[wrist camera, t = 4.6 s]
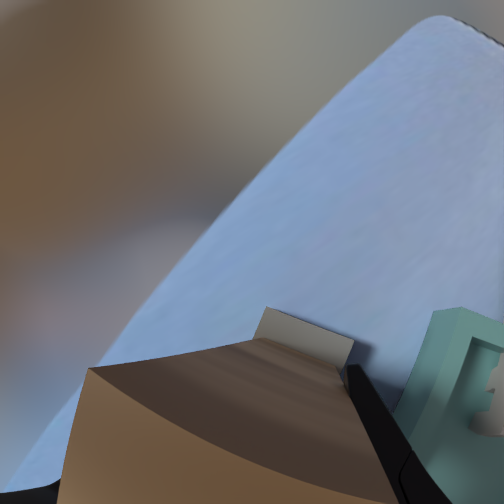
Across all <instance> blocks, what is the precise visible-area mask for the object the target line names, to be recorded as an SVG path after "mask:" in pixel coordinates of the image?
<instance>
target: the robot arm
mask: <svg viewBox="0 0 504 504" xmlns="http://www.w3.org/2000/svg"><path fill="white" fill-rule="evenodd" d="M343 385H344V387H345V389H346V391H347V393H348V395H349V397H350V398H351V401H352V403H353V405H354V407H355V409H356V411H357V413H358V415H359V417H360V420H361V422H362V424H363V426H364V428H365V430H366V432H367V435H368V437H369V439H370V441H371V443H372V445H373V447H374V450H375V452H376V454H377V456H378V458H379V460H380V463H381V465H382V467H383V469H384V471H385V474H386V476H387V478H388V480H389V483H390V485H391V487H392V489H393V491H394V494H395V496H396V498H397V500H398V503H399V504H453V503H452V502H451V501H450V500H449V499H448V497H447V496H446V495H445V494H444V492H443V491H442V490H441V489H440V488H439V486H438V485H437V484H436V483H435V481H434V480H433V479H432V477H431V476H430V475H429V473H428V472H427V470H426V469H425V467H424V466H423V464H422V463H421V461H420V460H419V458H418V456H417V455H416V453H415V451H414V450H412V447H411V445H410V443H409V442H408V440H407V439H406V437H405V435H404V434H403V432H402V430H401V429H400V427H399V425H398V424H397V422H396V421H395V419H394V417H393V416H392V414H391V413H390V411H389V409H388V408H387V406H386V405H385V403H384V401H383V400H382V398H381V397H380V395H379V393H378V392H377V390H376V389H375V387H374V386H373V384H372V382H371V381H370V379H369V378H368V376H367V375H366V373H365V371H364V370H363V368H362V367H361V365H360V364H359V363H351V364H346V365H345V372H344V383H343ZM411 450H412V451H411ZM60 481H61V478H60V479H59V480H58V481H56V482H54V483H52V484H50V485H47V486H44V487H39V488H33V489H27V490H21V491H14V492H7V493H0V504H57V499H58V493H59V487H60Z"/></svg>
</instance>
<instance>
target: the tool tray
mask: <svg viewBox="0 0 504 504" xmlns="http://www.w3.org/2000/svg"><path fill="white" fill-rule="evenodd" d="M501 353H504V324H502V323H500V322H497V321H495V320H493V319H490V318H488V317H485V316H483V315H480V314H478V313H475V312H473V311H470V310H468V309H465V308H463V307H458V308H452V309H445V310H438V311H434V312H433V315H432V318H431V321H430V324H429V327H428V330H427V333H426V336H425V338H424V341H423V344H422V347H421V349H420V352H419V355H418V357H417V360H416V362H415V365H414V367H413V370H412V372H411V375H410V377H409V380H408V382H407V384H406V387H405V389H404V391H403V393H402V396H401V398H400V400H399V402H398V404H397V406H396V409H395V411H394V413H393V415H392V416H393V417H394V419H395V421H396V422H397V424H398V425H399V427H400V429H401V430H402V432H403V434H404V435H405V437H406V439H407V440H408V442H409V443H410V445H411V447H412V450H414V451H415V453H416V455H417V456H418V458H419V460H420V461H421V463H422V464H423V466H424V467H425V469H426V470H427V472H428V473H429V475H430V476H431V477H432V479H433V480H434V481H435V483H436V484H437V485H438V486H439V488H440V489H441V490H442V491H443V492H444V494H445V495H446V496H447V497H448V499H449V500H450V501H451V502H452V503H453V504H504V437H486V436H482V435H477V434H476V433H474V432H473V431H471V430H469V429H468V427H469V425H470V423H471V421H472V418H473V416H474V414H475V412H484V411H489V409H490V405H491V402H492V398H493V395H494V394H493V393H490V392H486V391H484V390H485V388H486V385H487V382H488V380H489V377H490V374H491V371H492V369H494V368H495V367H497V366H498V362H499V358H500V354H501ZM412 450H411V451H412Z"/></svg>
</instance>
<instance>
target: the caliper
mask: <svg viewBox="0 0 504 504" xmlns="http://www.w3.org/2000/svg"><path fill="white" fill-rule="evenodd" d="M503 324H504V323H503ZM484 391H486V392H490V393H493V394H494V395H493V398H492V402H491V405H490V409H489V411H484V412H475V414H474V416H473V418H472V421H471V423H470V425H469V427H468V429H469V430H471V431H473V432H474V433H476V434H477V435H482V436H486V437H504V353H501V354H500V358H499V362H498V366H497V367H495V368H494V369H492V371H491V374H490V377H489V380H488V382H487V385H486V388H485V390H484Z"/></svg>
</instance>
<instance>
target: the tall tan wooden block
mask: <svg viewBox="0 0 504 504" xmlns="http://www.w3.org/2000/svg"><path fill="white" fill-rule="evenodd" d="M354 341H355V340H352V339H350V338H347V337H344V336H342V335H339V334H336V333H334V332H331V331H328V330H326V329H323V328H320V327H318V326H315V325H313V324H310V323H307V322H305V321H302V320H300V319H297V318H295V317H292V316H290V315H287V314H284V313H282V312H279V311H277V310H274V309H272V308H269V307H267V306H266V308H265V311H264V313H263V316H262V318H261V320H260V323H259V325H258V328H257V330H256V332H255V335H254V337H253V339H252V340H249V341H244V342H240V343H235V344H230V345H226V346H221V347H216V348H211V349H206V350H201V351H196V352H191V353H185V354H180V355H174V356H168V357H162V358H156V359H150V360H144V361H137V362H131V363H124V364H117V365H109V366H101V367H93V368H88V371H87V374H86V377H85V381H84V384H83V387H82V391H81V394H80V398H79V402H78V405H77V409H76V413H75V417H74V421H73V425H72V429H71V433H70V437H69V442H68V446H67V451H66V456H65V460H64V465H63V470H62V476H61V481H60V487H59V493H58V499H57V504H399V503H398V500H397V498H396V496H395V494H394V491H393V489H392V487H391V485H390V483H389V480H388V478H387V476H386V474H385V471H384V469H383V467H382V465H381V463H380V460H379V458H378V456H377V454H376V452H375V450H374V447H373V445H372V443H371V441H370V439H369V437H368V435H367V432H366V430H365V428H364V426H363V424H362V422H361V420H360V417H359V415H358V413H357V411H356V409H355V407H354V405H353V403H352V401H351V398H350V397H349V395H348V393H347V391H346V389H345V387H344V385H343V382H342V380H341V378H340V374H341V372H342V369H343V367H344V365H345V362H346V360H347V358H348V355H349V353H350V350H351V348H352V345H353V343H354Z"/></svg>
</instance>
